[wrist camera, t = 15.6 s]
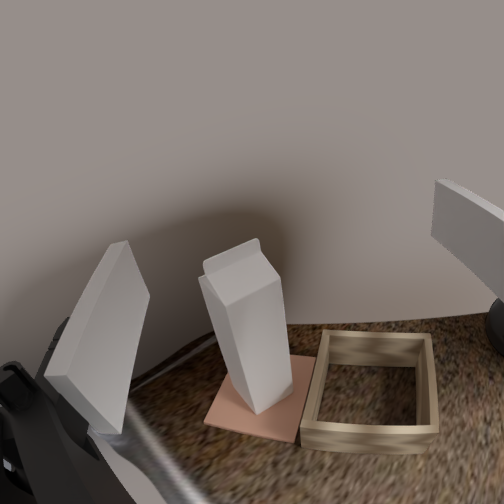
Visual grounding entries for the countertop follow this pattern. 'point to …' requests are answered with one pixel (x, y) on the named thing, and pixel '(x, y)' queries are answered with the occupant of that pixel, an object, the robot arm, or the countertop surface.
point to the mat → (272, 419)
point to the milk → (249, 323)
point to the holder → (374, 354)
